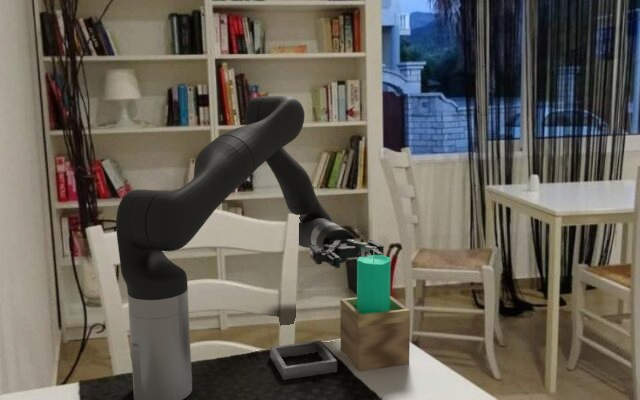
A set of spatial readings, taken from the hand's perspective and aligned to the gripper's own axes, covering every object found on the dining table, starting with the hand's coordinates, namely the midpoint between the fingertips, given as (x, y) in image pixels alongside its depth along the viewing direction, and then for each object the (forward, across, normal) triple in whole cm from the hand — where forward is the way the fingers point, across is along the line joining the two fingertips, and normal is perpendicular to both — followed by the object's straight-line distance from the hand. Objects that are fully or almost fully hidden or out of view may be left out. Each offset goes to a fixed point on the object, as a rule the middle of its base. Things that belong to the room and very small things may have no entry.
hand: (359, 261), depth 120 cm
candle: (+8, 0, +8) cm, 11 cm away
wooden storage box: (+8, 0, +16) cm, 18 cm away
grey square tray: (+7, -13, +16) cm, 22 cm away
